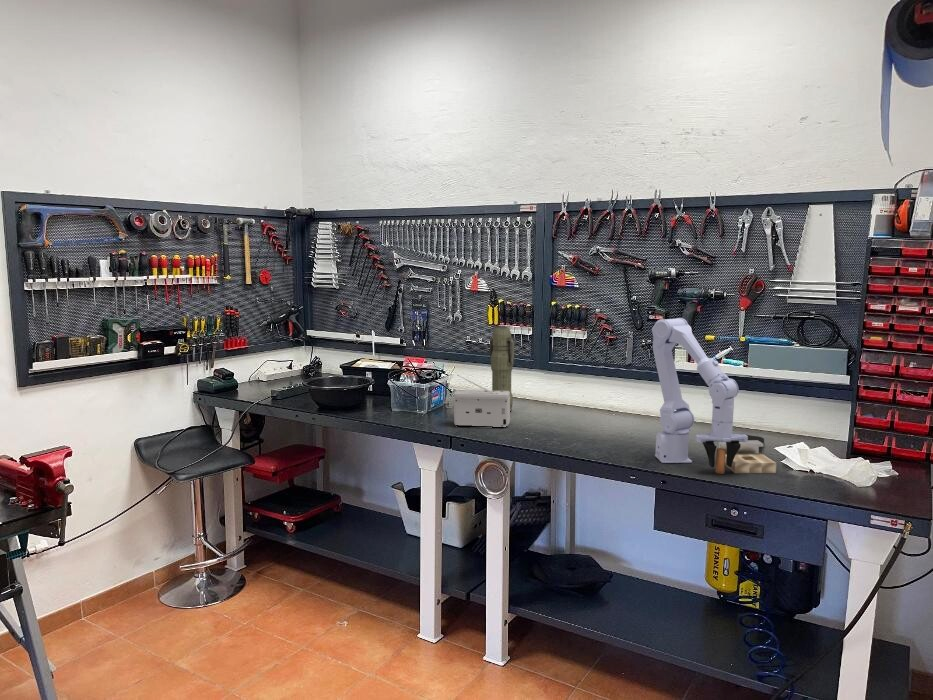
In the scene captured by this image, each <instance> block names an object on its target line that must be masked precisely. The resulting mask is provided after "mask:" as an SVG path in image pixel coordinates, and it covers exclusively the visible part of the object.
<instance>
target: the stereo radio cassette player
mask: <svg viewBox="0 0 933 700" xmlns="http://www.w3.org/2000/svg"><path fill="white" fill-rule="evenodd" d="M457 377H460V378H461V379H464V380H466V381H467V382H468V383H471V384H473V386H474V385H475V386H477V387H479V388H480V389H482V390H479V389H477V390H473V389H457V390H454V393H453V394H454V395H453V422H454V423H453V424H454V425H455V426H456V425H472V426H493V427H506V426H507V427H508V426H509V425H510V422H511V412H510V392H509V391H492V390H488V389H486V388H485V387H483V386H482V385H479V384H478V383H476V382H473V381H471V380H470V379H467V378H465V377H463V376H461V375H459V374H457ZM507 427H506V428H507Z"/></svg>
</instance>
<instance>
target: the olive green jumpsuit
mask: <svg viewBox="0 0 933 700" xmlns="http://www.w3.org/2000/svg"><path fill="white" fill-rule="evenodd" d="M489 361H490V369H491V373H492V374H491V377H492V378H491V381H492V382H491V383H492V384H491V391H509V392H510V411H512V412H513V405H514V404H513V401H514V400H513V396H514V395H513V394H512V371H513V367H514V364H515V341H514V339H513V338H512V332H511V328H510V327H508V326H507V325H497V326H496V327H495V326H494V328H493V331H492V337H491V338H490V339H489Z"/></svg>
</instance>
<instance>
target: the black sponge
mask: <svg viewBox="0 0 933 700" xmlns="http://www.w3.org/2000/svg"><path fill="white" fill-rule="evenodd" d="M746 435H747V436H748V440H758V441H760V442H761V443H763V444H764V446H766V445H765V437H761V436H758V435H751V434H746ZM763 449H764V447H759V452H758V453H761V454H763Z"/></svg>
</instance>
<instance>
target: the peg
mask: <svg viewBox="0 0 933 700" xmlns="http://www.w3.org/2000/svg"><path fill="white" fill-rule="evenodd" d="M715 457H716V458H715V473H716V474H721V475H723V474H725V467H726V466H725V449H723V448H719V447H716V452H715Z"/></svg>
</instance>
